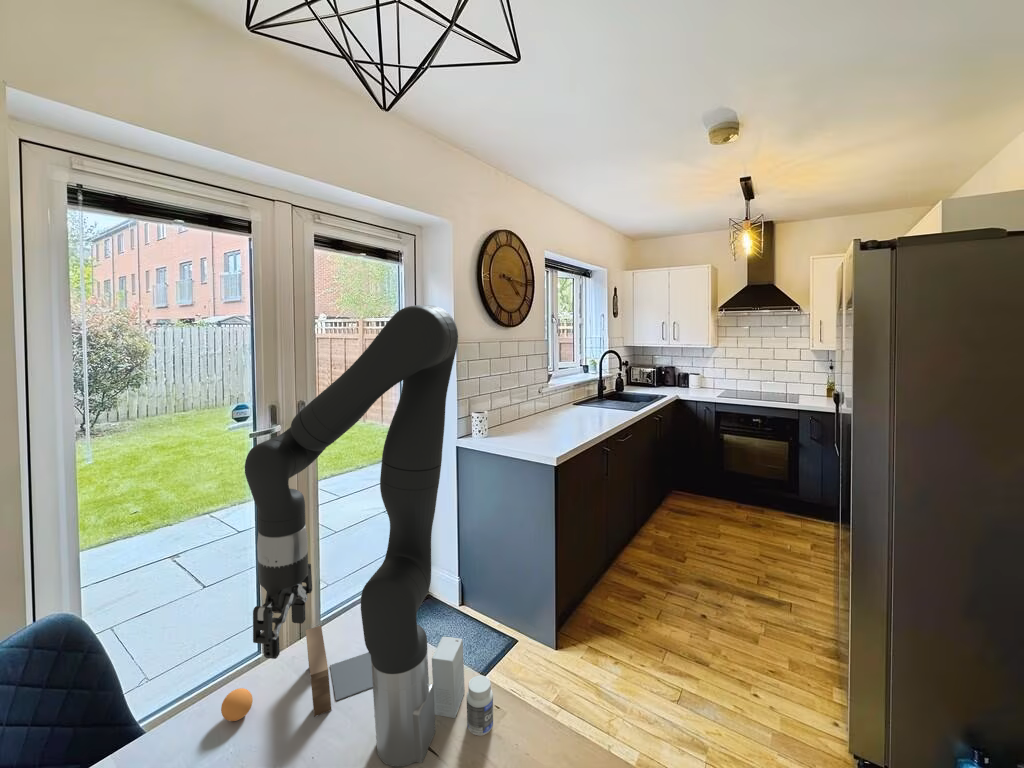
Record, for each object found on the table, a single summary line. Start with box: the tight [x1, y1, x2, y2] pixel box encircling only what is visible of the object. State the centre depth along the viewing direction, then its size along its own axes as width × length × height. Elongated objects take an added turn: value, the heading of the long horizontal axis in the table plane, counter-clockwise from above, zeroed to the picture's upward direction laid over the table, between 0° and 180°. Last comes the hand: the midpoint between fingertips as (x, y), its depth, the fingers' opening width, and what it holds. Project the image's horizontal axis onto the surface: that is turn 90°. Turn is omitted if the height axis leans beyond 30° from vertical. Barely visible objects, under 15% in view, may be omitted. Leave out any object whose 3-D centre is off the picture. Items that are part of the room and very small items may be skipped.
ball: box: [220, 687, 254, 722], centre depth 85 cm, size 5×5×5 cm
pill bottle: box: [466, 675, 494, 736], centre depth 82 cm, size 5×5×8 cm
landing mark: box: [330, 651, 373, 702], centre depth 95 cm, size 10×10×1 cm
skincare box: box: [431, 636, 466, 719], centre depth 87 cm, size 6×4×12 cm
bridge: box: [305, 625, 332, 718], centre depth 91 cm, size 3×14×9 cm, turn 27°
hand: (286, 638), depth 80 cm, fingers open, 8 cm apart
